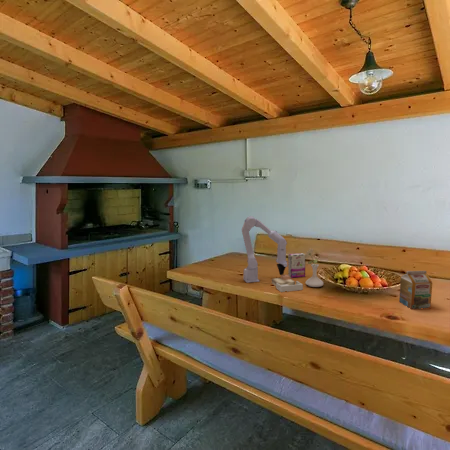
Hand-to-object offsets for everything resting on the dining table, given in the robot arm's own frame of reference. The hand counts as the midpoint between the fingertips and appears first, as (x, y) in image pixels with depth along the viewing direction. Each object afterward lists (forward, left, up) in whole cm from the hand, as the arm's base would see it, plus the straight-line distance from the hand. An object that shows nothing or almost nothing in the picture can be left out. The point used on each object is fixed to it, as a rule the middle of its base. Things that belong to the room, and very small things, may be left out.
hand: (281, 274), depth 221 cm
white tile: (-6, -19, -1) cm, 20 cm away
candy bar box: (+14, +5, -4) cm, 15 cm away
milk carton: (+50, -62, -4) cm, 80 cm away
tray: (-3, -18, -4) cm, 19 cm away
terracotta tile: (0, -7, -1) cm, 7 cm away
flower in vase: (+15, -17, -4) cm, 23 cm away
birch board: (-3, -9, -4) cm, 10 cm away
